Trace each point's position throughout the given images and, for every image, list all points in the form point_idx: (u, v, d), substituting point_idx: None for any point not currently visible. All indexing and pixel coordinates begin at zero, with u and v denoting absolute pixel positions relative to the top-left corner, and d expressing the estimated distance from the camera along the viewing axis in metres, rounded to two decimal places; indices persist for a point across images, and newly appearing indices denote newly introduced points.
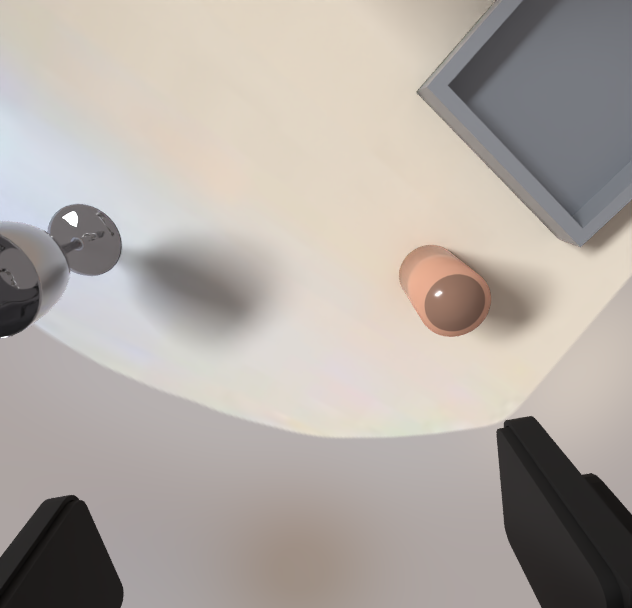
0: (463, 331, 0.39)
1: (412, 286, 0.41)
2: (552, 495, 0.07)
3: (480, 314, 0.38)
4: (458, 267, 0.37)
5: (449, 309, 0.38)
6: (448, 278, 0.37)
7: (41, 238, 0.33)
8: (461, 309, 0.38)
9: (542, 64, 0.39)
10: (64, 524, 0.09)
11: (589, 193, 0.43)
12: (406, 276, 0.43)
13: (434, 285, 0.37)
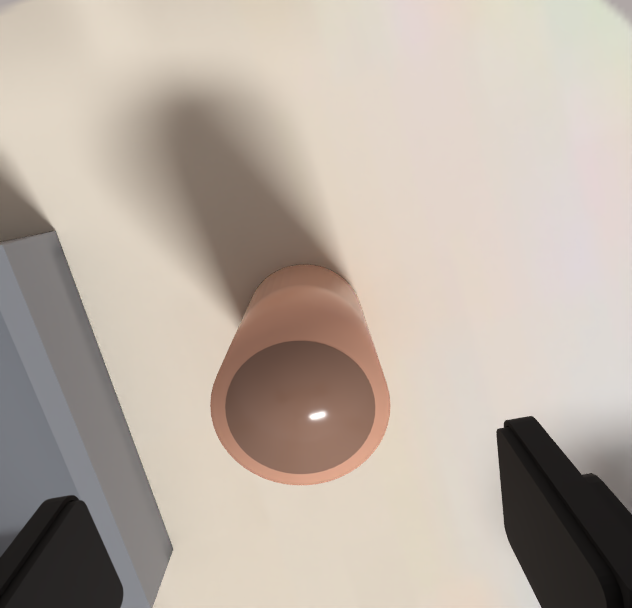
0: (322, 337, 0.15)
1: None
2: (552, 495, 0.07)
3: (262, 351, 0.15)
4: None
5: (319, 406, 0.15)
6: (280, 466, 0.16)
7: None
8: (295, 389, 0.15)
9: None
10: (64, 524, 0.09)
11: None
12: None
13: (315, 470, 0.16)
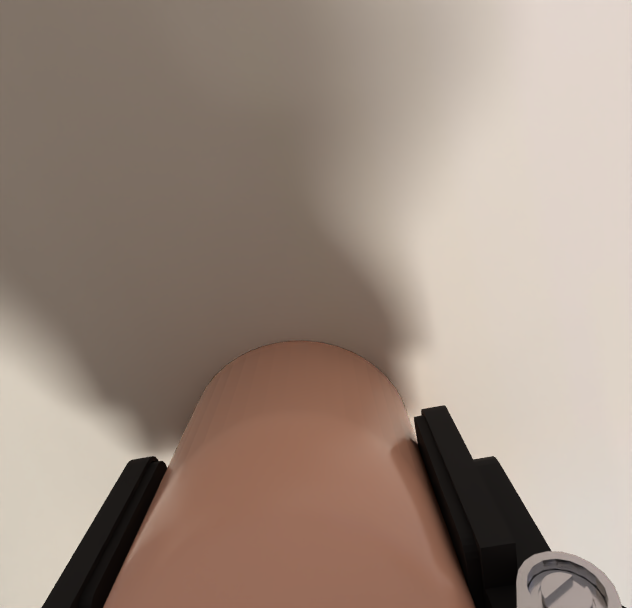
0: None
1: None
2: (442, 473, 0.08)
3: None
4: None
5: None
6: None
7: None
8: None
9: None
10: (152, 480, 0.10)
11: None
12: None
13: None
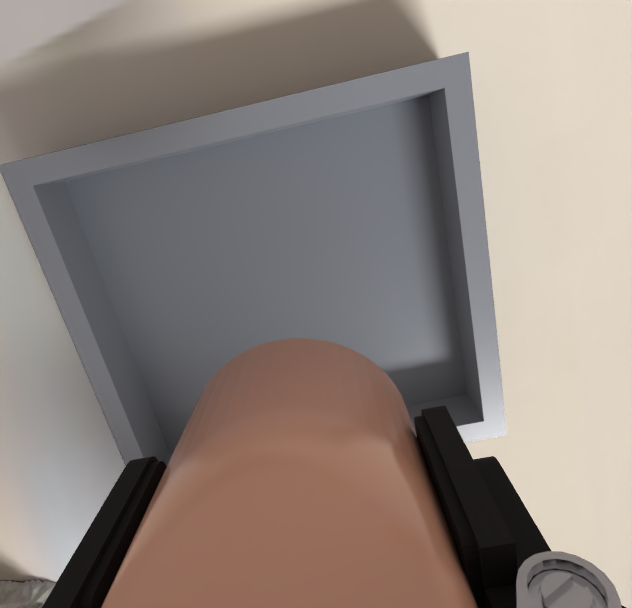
0: None
1: None
2: (442, 473, 0.08)
3: None
4: None
5: None
6: None
7: None
8: None
9: (336, 341, 0.28)
10: (152, 480, 0.10)
11: (367, 120, 0.24)
12: None
13: None
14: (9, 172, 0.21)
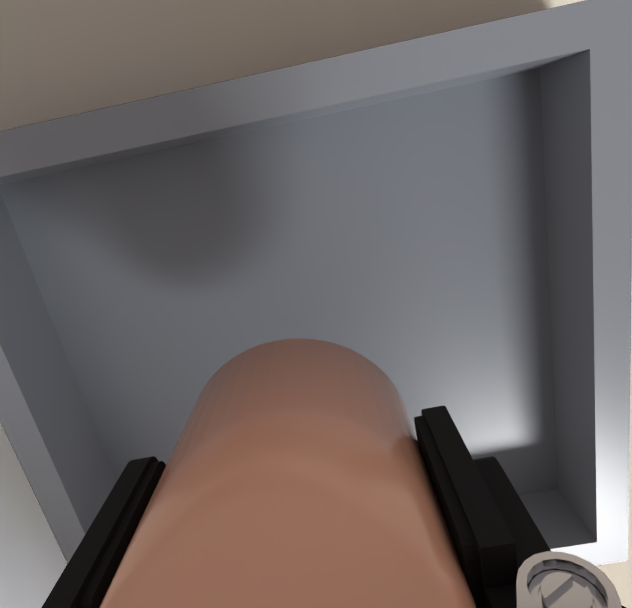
0: None
1: None
2: (442, 473, 0.08)
3: None
4: None
5: None
6: None
7: None
8: None
9: None
10: (152, 480, 0.10)
11: (445, 104, 0.16)
12: None
13: None
14: None
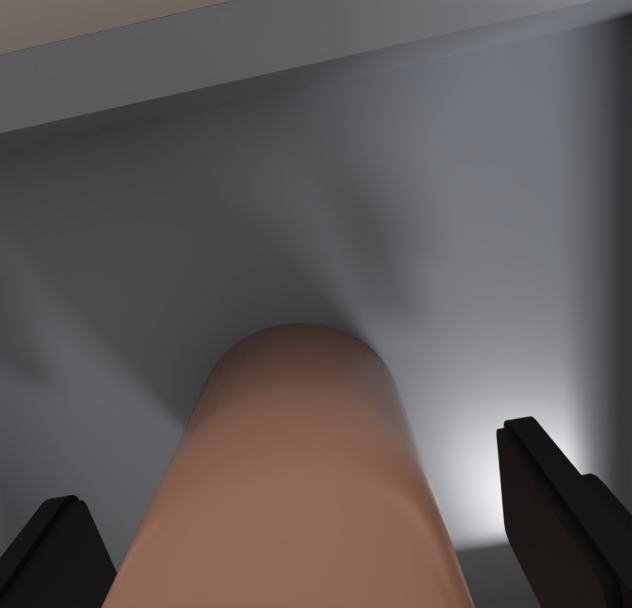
0: None
1: None
2: (551, 495, 0.07)
3: None
4: None
5: None
6: None
7: None
8: None
9: None
10: (65, 524, 0.09)
11: (501, 68, 0.11)
12: None
13: None
14: None
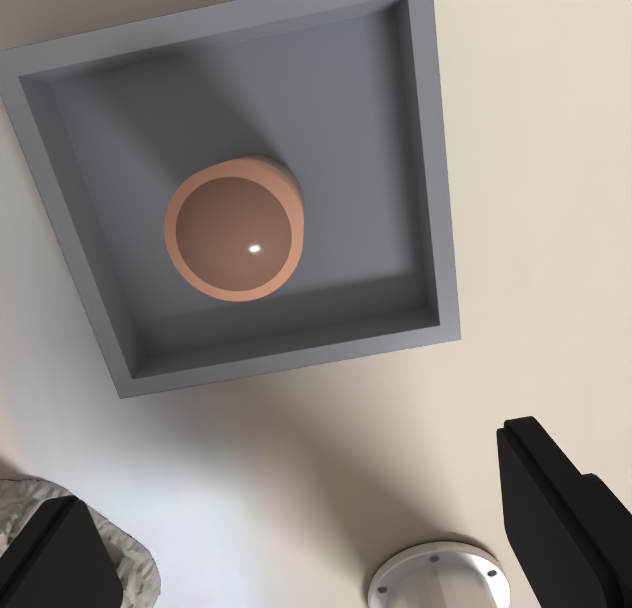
0: (248, 173, 0.19)
1: None
2: (552, 495, 0.07)
3: (202, 185, 0.19)
4: None
5: (248, 232, 0.20)
6: (220, 284, 0.21)
7: None
8: (229, 218, 0.20)
9: (306, 251, 0.29)
10: (64, 524, 0.09)
11: (338, 31, 0.25)
12: None
13: (247, 288, 0.21)
14: None
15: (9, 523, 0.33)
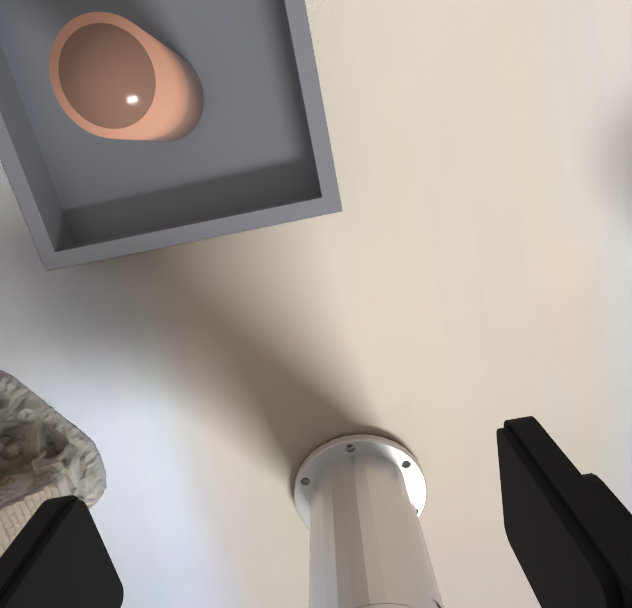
0: (114, 20, 0.23)
1: (167, 126, 0.27)
2: (552, 495, 0.07)
3: (77, 30, 0.23)
4: None
5: (118, 73, 0.24)
6: (99, 122, 0.25)
7: None
8: (101, 60, 0.24)
9: (209, 140, 0.33)
10: (64, 524, 0.09)
11: None
12: (179, 129, 0.30)
13: (123, 125, 0.25)
14: None
15: None
